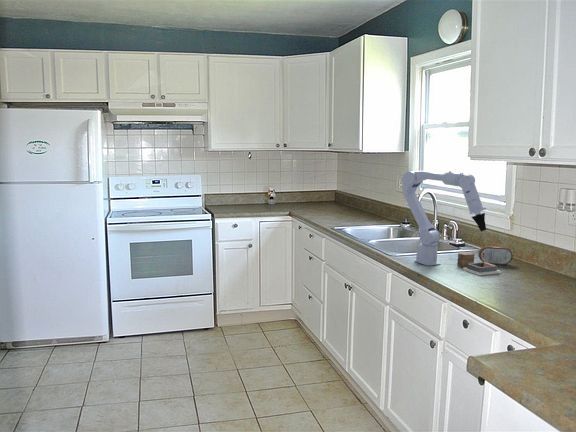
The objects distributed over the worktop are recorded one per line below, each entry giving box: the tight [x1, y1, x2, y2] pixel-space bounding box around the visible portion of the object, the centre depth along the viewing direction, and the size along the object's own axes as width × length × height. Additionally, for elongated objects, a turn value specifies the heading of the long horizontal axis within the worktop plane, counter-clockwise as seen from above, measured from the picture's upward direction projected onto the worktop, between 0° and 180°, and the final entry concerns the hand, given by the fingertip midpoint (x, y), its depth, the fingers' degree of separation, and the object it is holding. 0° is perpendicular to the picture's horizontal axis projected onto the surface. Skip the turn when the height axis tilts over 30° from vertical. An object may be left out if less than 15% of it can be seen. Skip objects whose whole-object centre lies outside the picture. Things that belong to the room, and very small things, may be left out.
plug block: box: [457, 251, 476, 269], centre depth 246 cm, size 4×6×6 cm, turn 115°
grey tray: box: [462, 261, 501, 276], centre depth 238 cm, size 10×12×3 cm
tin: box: [478, 245, 514, 266], centre depth 252 cm, size 15×3×8 cm, turn 80°
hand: (483, 230), depth 233 cm, fingers open, 7 cm apart
